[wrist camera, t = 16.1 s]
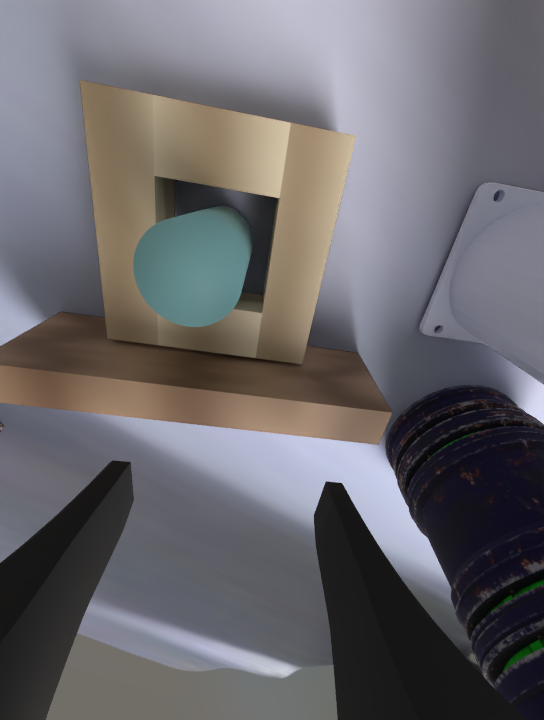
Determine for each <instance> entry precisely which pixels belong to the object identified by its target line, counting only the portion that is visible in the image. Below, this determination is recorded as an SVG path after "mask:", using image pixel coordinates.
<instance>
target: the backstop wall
mask: <svg viewBox="0 0 544 720" xmlns="http://www.w3.org/2000/svg"><path fill="white" fill-rule="evenodd" d="M0 403H9V404H18V405H27V406H36V407H45V408H54V409H63V410H72V411H81V412H90V413H99V414H108V415H117V416H126V417H135V418H143V419H152V420H161V421H170V422H179V423H188V424H197V425H206V426H215V427H224V428H233V429H242V430H251V431H260V432H269V433H278V434H287V435H296V436H305V437H314V438H323V439H332V440H341V441H350V442H359V443H368V444H377V445H379V442H380V440H381V438H382V435H383V433H384V431H385V429H386V426H387V424H388V422H389V419H390V417H391V415H392V411H391V409H390V408H389V406H388V404H387V402H386V401H385V399H384V397H383V395H382V394H381V392H380V390H379V388H378V387H377V385H376V383H375V381H374V379H373V378H372V376H371V374H370V372H369V371H368V369H367V367H366V365H365V364H364V362H363V360H362V358H361V357H360V355H359V353H355V352H348V351H341V350H334V349H326V348H319V347H312V346H306V350H305V354H304V359H303V363H302V364H296V363H289V362H281V361H274V360H266V359H259V358H251V357H244V356H236V355H228V354H221V353H213V352H206V351H198V350H191V349H183V348H176V347H168V346H160V345H153V344H145V343H138V342H130V341H123V340H115V339H108V338H107V330H106V320H105V318H102V317H95V316H87V315H80V314H73V313H66V312H59V313H57V314H56V315H54V316H52V317H50V318H49V319H47V320H45V321H44V322H42V323H40V324H38V325H37V326H35V327H33V328H31V329H30V330H28V331H26V332H24V333H23V334H21V335H19V336H18V337H16V338H14V339H12V340H11V341H9V342H7V343H5V344H4V345H2V346H0Z"/></svg>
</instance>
